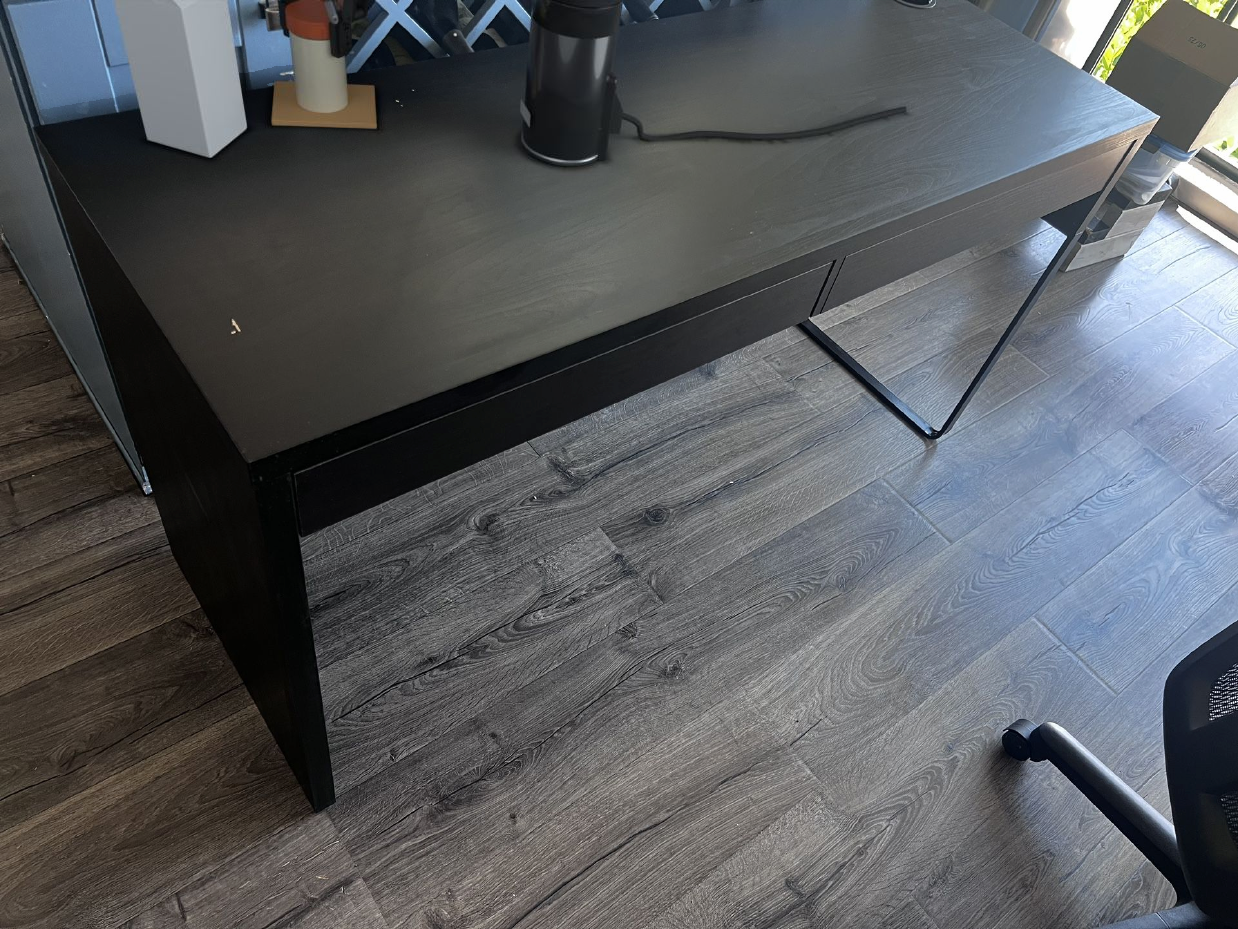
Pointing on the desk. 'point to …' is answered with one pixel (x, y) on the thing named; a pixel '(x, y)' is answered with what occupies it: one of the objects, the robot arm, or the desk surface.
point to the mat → (352, 116)
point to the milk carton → (184, 72)
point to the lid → (308, 19)
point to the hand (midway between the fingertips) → (316, 44)
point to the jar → (318, 75)
